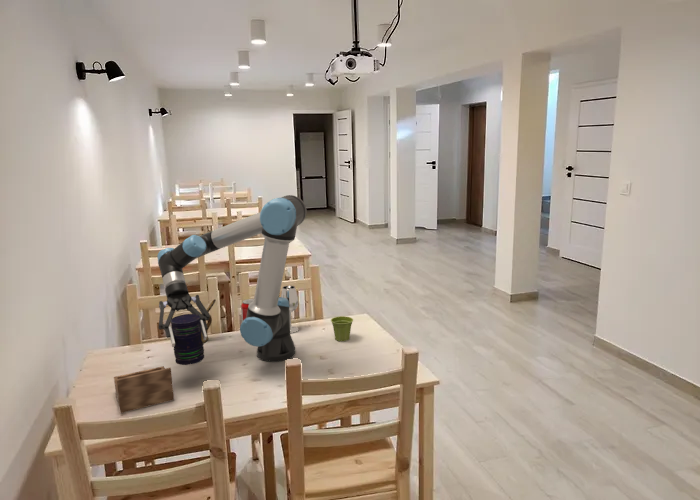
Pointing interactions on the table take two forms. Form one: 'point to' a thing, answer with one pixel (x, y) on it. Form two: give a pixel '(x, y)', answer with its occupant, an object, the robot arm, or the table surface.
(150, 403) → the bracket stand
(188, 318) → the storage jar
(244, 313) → the soda can
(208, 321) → the wooden mug
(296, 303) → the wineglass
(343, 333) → the plant pot
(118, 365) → the table surface
